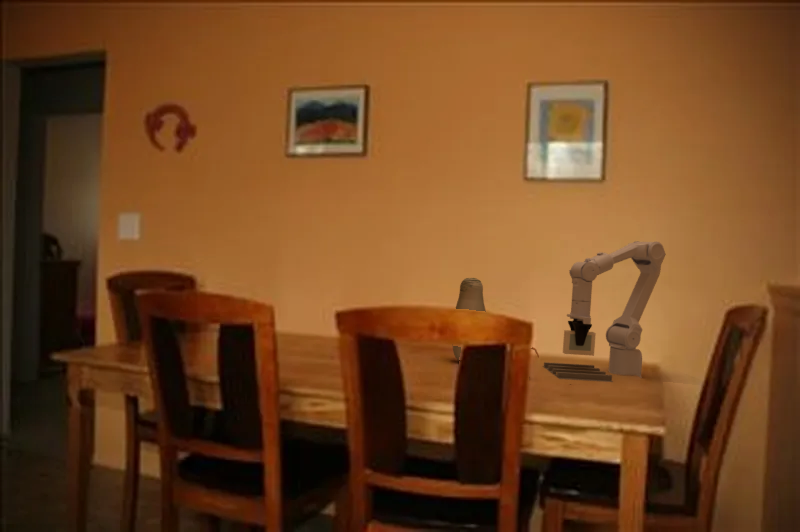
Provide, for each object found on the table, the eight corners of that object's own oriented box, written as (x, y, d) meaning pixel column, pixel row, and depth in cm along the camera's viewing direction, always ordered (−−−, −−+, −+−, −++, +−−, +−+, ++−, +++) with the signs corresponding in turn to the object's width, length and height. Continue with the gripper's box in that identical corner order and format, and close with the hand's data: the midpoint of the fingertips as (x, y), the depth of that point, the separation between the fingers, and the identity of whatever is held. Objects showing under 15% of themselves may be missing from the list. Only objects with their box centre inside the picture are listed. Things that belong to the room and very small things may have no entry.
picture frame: (591, 354, 195) (593, 331, 195) (594, 355, 192) (595, 333, 192) (562, 352, 195) (564, 330, 194) (564, 354, 192) (566, 331, 192)
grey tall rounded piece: (463, 358, 214) (468, 276, 213) (488, 363, 207) (493, 279, 207) (445, 361, 207) (450, 276, 206) (471, 366, 200) (476, 279, 199)
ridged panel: (591, 371, 204) (591, 364, 204) (613, 385, 184) (613, 376, 184) (542, 369, 204) (542, 361, 203) (559, 382, 184) (559, 373, 183)
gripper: (561, 298, 200) (558, 340, 201) (575, 302, 186) (572, 347, 186) (583, 299, 200) (580, 341, 201) (599, 303, 186) (595, 349, 186)
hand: (578, 344), depth 193 cm, fingers closed on picture frame, 2 cm apart
